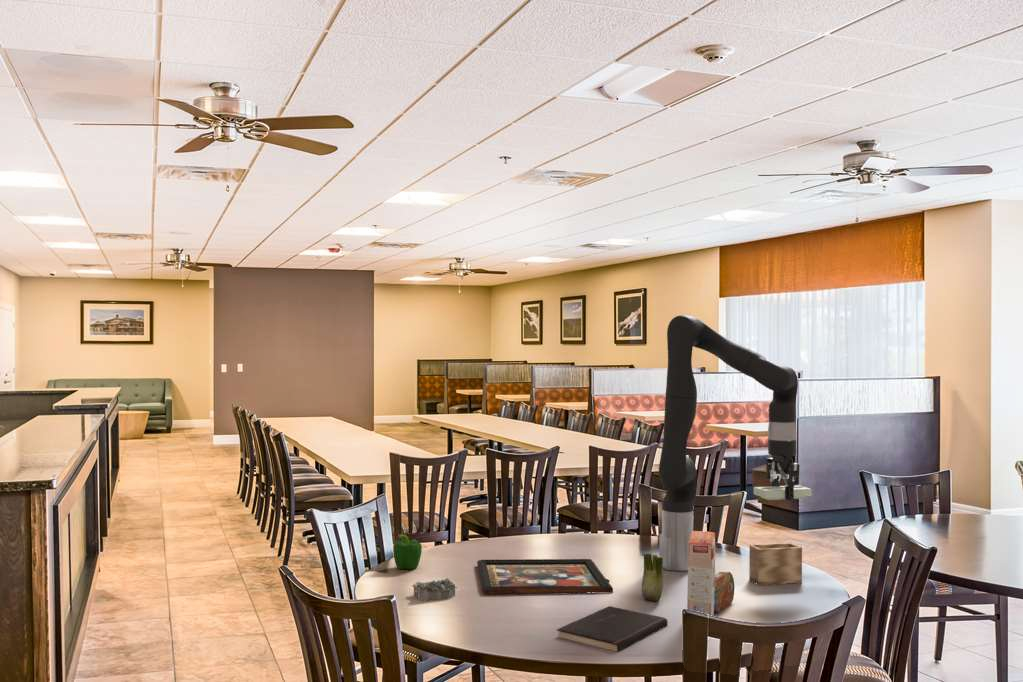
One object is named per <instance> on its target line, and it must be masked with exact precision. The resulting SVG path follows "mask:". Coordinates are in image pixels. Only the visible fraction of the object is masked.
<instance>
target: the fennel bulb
mask: <svg viewBox="0 0 1023 682" xmlns="http://www.w3.org/2000/svg"><path fill="white" fill-rule="evenodd" d="M662 565H663V557H659V555H658V554H652V553H643V575H642V578H641V594H642V597H643V598H644V599H645V600H647V601H650V602H653V601H654V602H655V601H656V602H657V601H660V600H661V598H662V594H663V587H664V585H663V584H664V577H663V574H664V573H663V568H662Z"/></svg>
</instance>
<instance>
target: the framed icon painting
mask: <svg viewBox="0 0 1023 682" xmlns="http://www.w3.org/2000/svg"><path fill="white" fill-rule="evenodd" d="M476 563H477V572H478V573H477V574H478V576H479V580H480V585H481V591H482V593H483V595H484V596H507V595H508V596H511V595H512V596H513V595H514V596H515V595H517V596H518V595H555V594H556V593H558V594H557V595H559V593H571V594H588V593H587V592H591V593H590V594H593V593H592V592H612V593H614V587H613V586H612V585H611V584H610V582H609V580H607V579H606V577H605V576H604V574H603V573H602V571H601V570H600V569H599V567H598V566H597V565H596V564H595V562H594V561H593V560H592V559H591V558H564V559H563V558H561V559H559V558H557V559H555V558H551V559H547V558H546V559H544V558H543V559H541V558H539V559H479V560H477V562H476Z"/></svg>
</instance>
